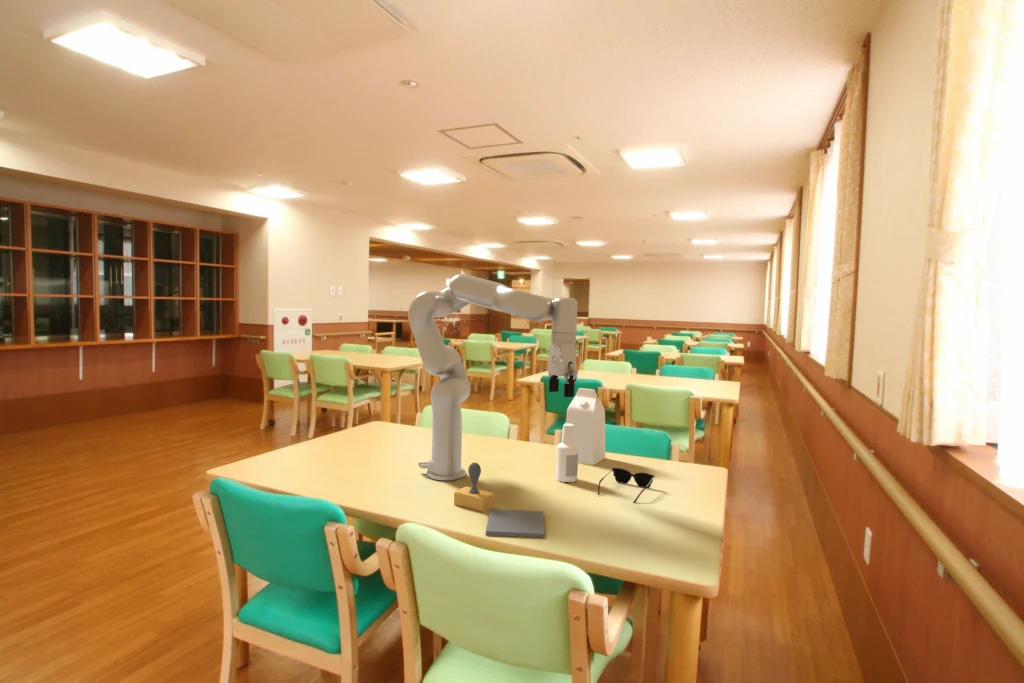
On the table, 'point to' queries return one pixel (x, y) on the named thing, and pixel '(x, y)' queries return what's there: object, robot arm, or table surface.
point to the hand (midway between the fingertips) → (560, 394)
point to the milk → (588, 425)
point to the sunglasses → (625, 477)
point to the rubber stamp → (474, 493)
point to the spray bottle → (567, 456)
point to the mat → (515, 523)
